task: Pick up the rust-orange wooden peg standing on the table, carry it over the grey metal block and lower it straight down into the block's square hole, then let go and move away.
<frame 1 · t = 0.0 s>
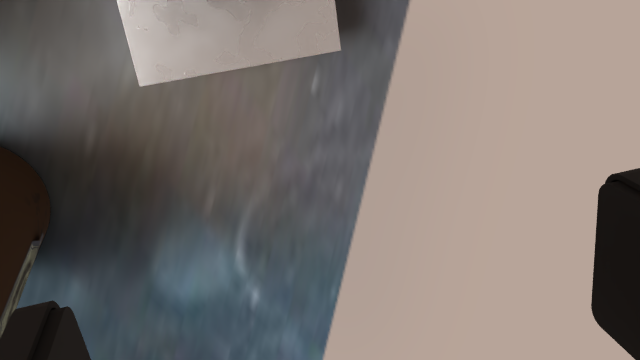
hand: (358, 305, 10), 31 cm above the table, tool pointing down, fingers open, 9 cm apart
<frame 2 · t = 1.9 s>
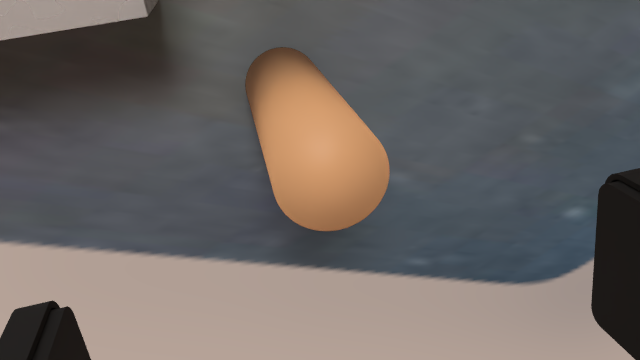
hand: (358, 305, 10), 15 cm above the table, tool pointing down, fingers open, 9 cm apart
peg: (282, 84, 24), on the table
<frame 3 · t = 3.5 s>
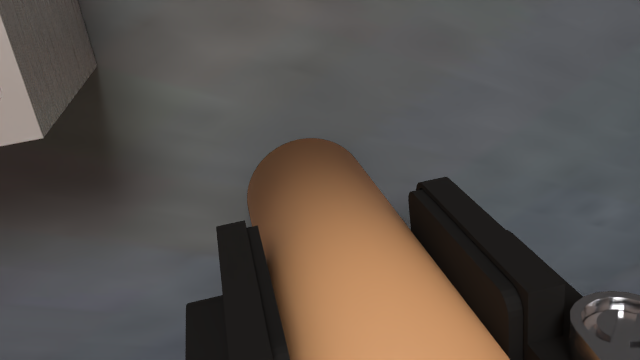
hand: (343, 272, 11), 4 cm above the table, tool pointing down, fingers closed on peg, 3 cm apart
peg: (307, 195, 14), on the table, touching gripper
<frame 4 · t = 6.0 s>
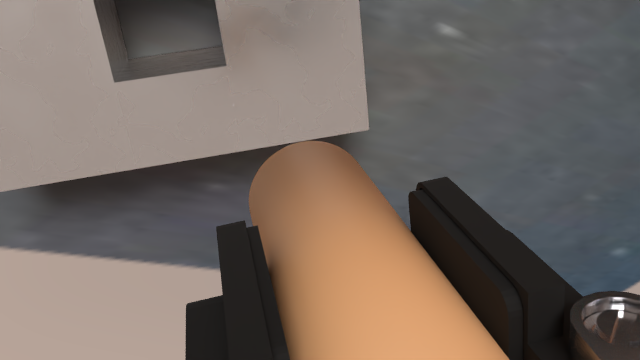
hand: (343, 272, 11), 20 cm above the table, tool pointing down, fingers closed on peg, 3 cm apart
hole block: (165, 4, 27), on the table
peg: (309, 198, 14), point 16 cm above the table, touching gripper
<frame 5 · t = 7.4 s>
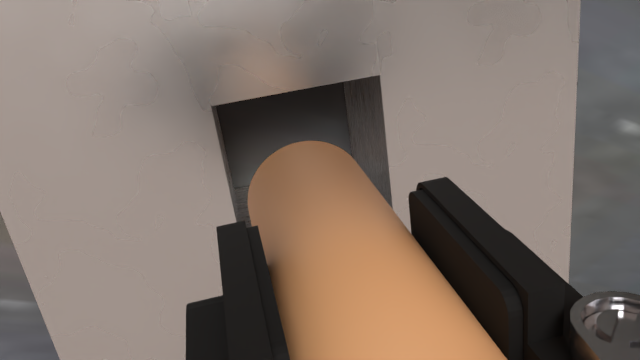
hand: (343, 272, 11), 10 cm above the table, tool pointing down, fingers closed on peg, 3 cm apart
hole block: (284, 118, 21), on the table
peg: (307, 198, 14), point 7 cm above the table, touching gripper
when the fingers open (7 cm above the table, at t = 8.4 s): peg drops 3 cm, resting in hole block.
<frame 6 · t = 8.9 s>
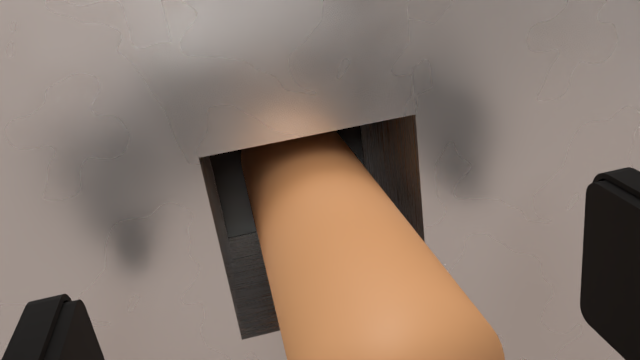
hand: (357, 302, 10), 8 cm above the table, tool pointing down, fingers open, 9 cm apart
hole block: (288, 155, 17), on the table
peg: (291, 156, 17), resting in hole block
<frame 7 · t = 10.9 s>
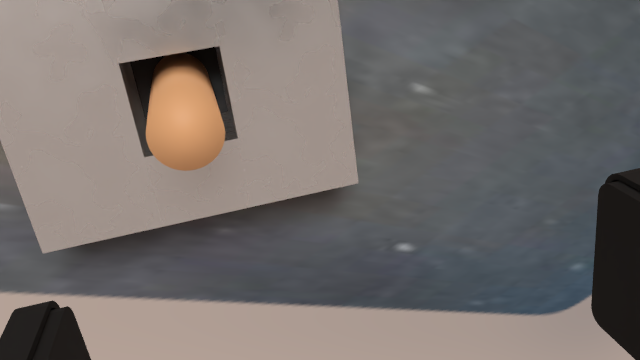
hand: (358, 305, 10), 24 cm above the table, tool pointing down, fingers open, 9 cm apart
hole block: (179, 80, 31), on the table
peg: (180, 80, 32), resting in hole block
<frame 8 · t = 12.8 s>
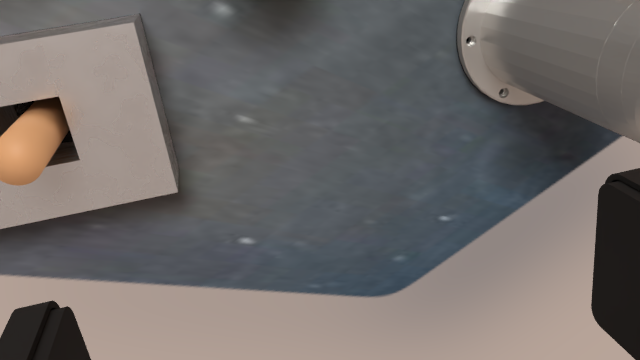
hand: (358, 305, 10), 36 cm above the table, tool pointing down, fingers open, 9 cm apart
hole block: (50, 115, 43), on the table
peg: (52, 115, 43), resting in hole block
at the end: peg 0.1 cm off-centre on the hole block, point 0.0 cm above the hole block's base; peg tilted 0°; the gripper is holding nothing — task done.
